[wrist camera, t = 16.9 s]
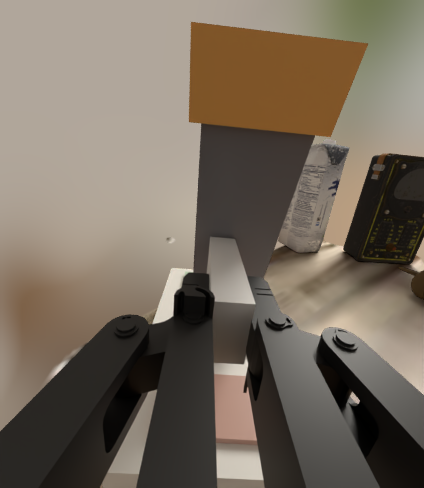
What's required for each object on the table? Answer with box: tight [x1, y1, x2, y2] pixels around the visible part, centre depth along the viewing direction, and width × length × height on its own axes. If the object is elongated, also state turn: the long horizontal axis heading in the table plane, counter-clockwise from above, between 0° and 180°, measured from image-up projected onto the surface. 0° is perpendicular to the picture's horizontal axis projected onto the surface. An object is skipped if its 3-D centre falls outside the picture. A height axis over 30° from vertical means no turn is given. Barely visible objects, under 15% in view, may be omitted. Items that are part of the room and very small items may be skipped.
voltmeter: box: [343, 154, 424, 264], centre depth 56 cm, size 16×9×25 cm, turn 94°
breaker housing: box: [102, 268, 265, 488], centre depth 23 cm, size 22×12×7 cm, turn 0°
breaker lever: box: [189, 22, 368, 278], centre depth 15 cm, size 2×6×19 cm, turn 90°
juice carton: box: [278, 139, 349, 253], centre depth 58 cm, size 9×10×27 cm
